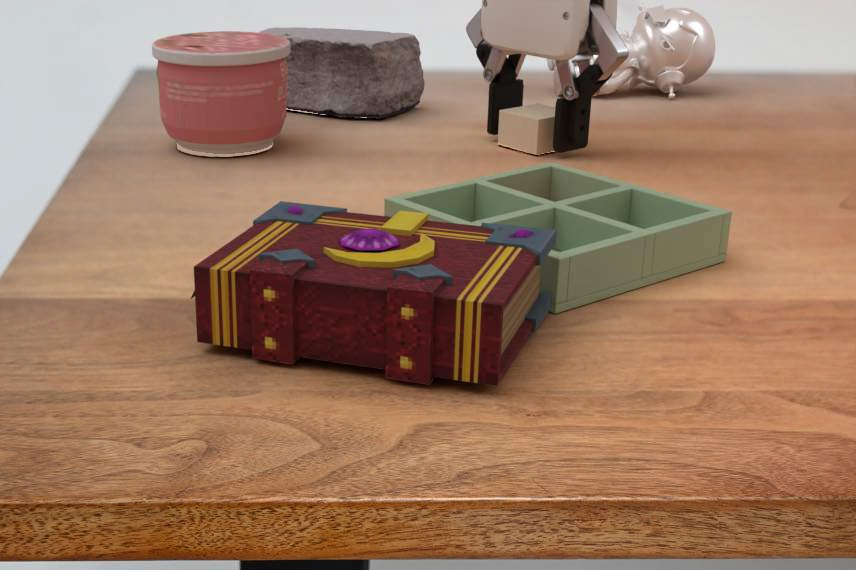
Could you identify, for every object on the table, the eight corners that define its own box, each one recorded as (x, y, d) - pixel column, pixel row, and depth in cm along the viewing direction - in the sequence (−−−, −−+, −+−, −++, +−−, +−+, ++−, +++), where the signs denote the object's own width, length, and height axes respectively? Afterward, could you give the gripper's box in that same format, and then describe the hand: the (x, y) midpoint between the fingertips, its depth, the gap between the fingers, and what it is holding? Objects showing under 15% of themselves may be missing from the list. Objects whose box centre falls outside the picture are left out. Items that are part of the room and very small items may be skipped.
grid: (548, 206, 82) (551, 161, 81) (726, 261, 72) (732, 210, 71) (383, 246, 75) (384, 197, 74) (555, 314, 65) (559, 258, 63)
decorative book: (499, 399, 55) (504, 292, 53) (170, 350, 60) (164, 251, 58) (551, 312, 65) (557, 219, 63) (264, 276, 70) (262, 189, 68)
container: (214, 125, 105) (210, 27, 102) (318, 141, 99) (317, 38, 96) (129, 150, 97) (122, 45, 94) (237, 169, 91) (233, 58, 88)
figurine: (540, 1, 114) (703, -33, 114) (535, 49, 121) (689, 17, 120) (570, 98, 110) (739, 63, 110) (563, 142, 117) (722, 109, 117)
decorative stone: (421, 127, 105) (425, 97, 114) (422, 43, 102) (426, 20, 111) (247, 125, 107) (265, 96, 116) (243, 43, 104) (262, 20, 113)
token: (535, 138, 100) (537, 103, 99) (574, 148, 97) (577, 112, 96) (497, 145, 98) (499, 110, 97) (536, 156, 95) (538, 119, 94)
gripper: (683, -103, 86) (656, 155, 93) (505, -113, 98) (493, 115, 106) (609, -99, 82) (586, 171, 89) (433, -109, 94) (425, 127, 102)
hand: (536, 138), depth 97 cm, fingers open, 6 cm apart
